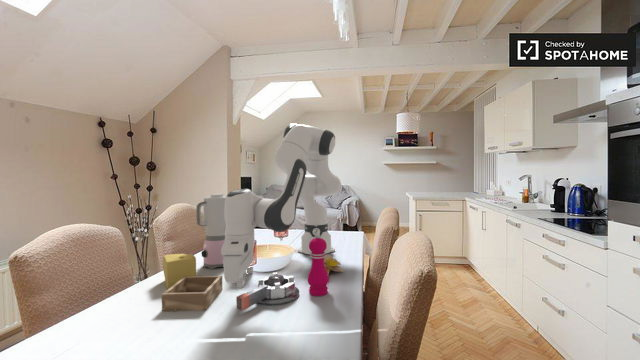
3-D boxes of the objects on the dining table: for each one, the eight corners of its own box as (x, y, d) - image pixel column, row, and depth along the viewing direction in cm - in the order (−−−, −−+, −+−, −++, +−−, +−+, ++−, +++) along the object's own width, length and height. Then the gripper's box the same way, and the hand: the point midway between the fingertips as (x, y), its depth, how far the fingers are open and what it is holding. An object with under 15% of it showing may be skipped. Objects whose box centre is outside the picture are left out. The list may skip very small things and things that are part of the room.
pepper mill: (327, 297, 92) (326, 236, 92) (305, 296, 94) (304, 235, 94) (330, 289, 99) (330, 231, 99) (310, 287, 101) (309, 231, 101)
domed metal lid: (258, 287, 102) (257, 270, 102) (300, 286, 102) (299, 269, 102) (248, 306, 87) (248, 286, 87) (297, 304, 87) (297, 285, 87)
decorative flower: (344, 279, 109) (344, 253, 109) (315, 279, 109) (314, 253, 109) (342, 266, 124) (342, 243, 124) (316, 267, 124) (316, 244, 124)
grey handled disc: (274, 281, 103) (274, 270, 103) (301, 288, 97) (301, 275, 97) (225, 305, 84) (224, 291, 84) (254, 315, 78) (254, 300, 78)
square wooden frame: (184, 290, 99) (184, 276, 99) (222, 290, 100) (222, 275, 100) (162, 311, 84) (161, 294, 84) (206, 310, 85) (206, 293, 85)
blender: (223, 260, 136) (222, 193, 136) (238, 265, 128) (237, 193, 128) (190, 268, 124) (189, 195, 124) (204, 274, 116) (203, 195, 116)
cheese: (192, 275, 115) (191, 251, 115) (197, 283, 106) (197, 257, 106) (163, 281, 109) (162, 255, 109) (165, 290, 100) (165, 262, 100)
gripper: (238, 234, 99) (239, 274, 99) (218, 251, 79) (220, 300, 79) (256, 234, 99) (257, 273, 100) (242, 250, 79) (243, 300, 79)
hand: (241, 285), depth 89 cm, fingers closed
